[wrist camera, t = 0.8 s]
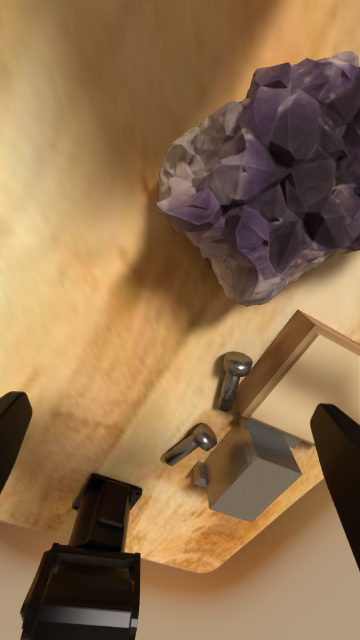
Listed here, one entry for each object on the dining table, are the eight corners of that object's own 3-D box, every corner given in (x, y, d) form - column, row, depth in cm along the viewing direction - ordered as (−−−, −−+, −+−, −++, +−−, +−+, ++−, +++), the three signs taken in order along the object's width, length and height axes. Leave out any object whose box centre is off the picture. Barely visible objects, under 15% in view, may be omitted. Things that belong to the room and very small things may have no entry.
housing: (238, 483, 32) (250, 530, 27) (192, 467, 30) (196, 514, 26) (293, 425, 28) (316, 468, 24) (243, 404, 27) (258, 445, 22)
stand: (325, 432, 29) (344, 460, 26) (233, 392, 26) (242, 418, 23) (395, 364, 25) (426, 386, 22) (298, 309, 23) (318, 326, 19)
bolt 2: (235, 402, 26) (239, 420, 24) (211, 399, 26) (214, 417, 24) (249, 353, 24) (255, 368, 22) (223, 350, 24) (227, 364, 22)
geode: (456, -12, 15) (877, -249, 6) (429, 196, 21) (629, 218, 12) (130, 139, 17) (117, 114, 8) (191, 292, 23) (220, 370, 14)
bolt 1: (177, 459, 30) (178, 479, 27) (161, 449, 29) (160, 469, 27) (215, 430, 28) (218, 449, 26) (199, 419, 27) (201, 438, 25)
